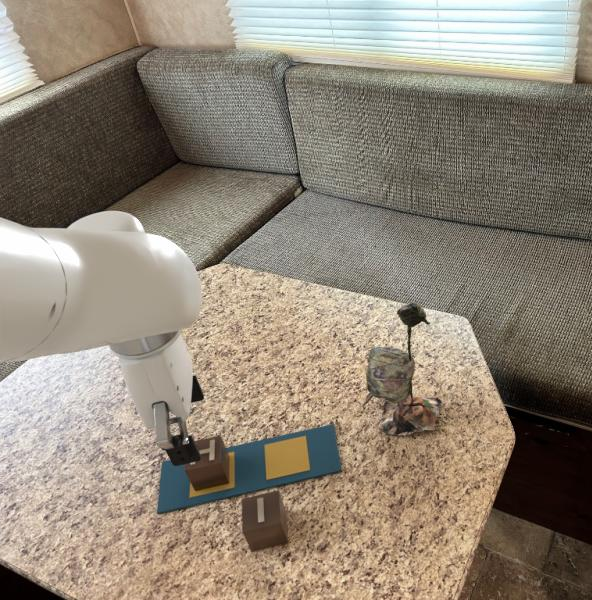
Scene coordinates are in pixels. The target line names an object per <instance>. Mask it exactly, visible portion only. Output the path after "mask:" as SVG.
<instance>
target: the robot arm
mask: <svg viewBox="0 0 592 600" xmlns="http://www.w3.org/2000/svg"><path fill="white" fill-rule="evenodd" d="M195 266H196V265H194V263H193V262H192V259H191V258H190V257H189V256H188V254H187V253H186V251H184V250H183V249H182V247H180V246H179V245H177V244H176V243H175V242H173V241H172V240H170V239H168V238H166V237H164V236H162V235H158V234H154V233H149V232H146V231H145V228H144V226H143V224H142V223H141V222H140V220H139V219H138V218H136V216H134V215H133V214H131V213H128V212H127V211H122V210H121V211H120V210H105V211H100V212H95V213H92V214H89V215H87V216H84V217H81V218H79V219H78V220H75V222H72V223H70V225H69V226H68V227H67V228H66V227H65V228H63V227H62V228H61V227H31V226H27V225H23V224H21V223H19V222H16V221H12V220H10V219H6V218H3V217H2V216H1V217H0V364H1V363H11V362H12V363H13V362H21V361H22V362H23V361H28V360H33V359H38V358H42V357H49V356H55V355H68V354H73V353H79V352H82V351H89V350H93V349H97V348H102V347H107V346H108V347H109V350H110V351H111V353H112V354H113V355H114V356H116V357H117V358H118V362H119V366H120V369H121V374H122V376H123V379H124V383H125V385H126V388H127V391H128V393H129V395H130V398H131V400H132V402H133V405H134V407H135V409H136V411H137V413H138V416H139V418H140V420H141V422H142V424H143V426H144V427H145V428H146V429H147V430H152V429H154V435H155V444H156V446H157V447H159V449H160V450H161V451H165V453H166V455H167V456H168V458H169V459H168V460H170V461H171V463H172V464H173V465H174V466H179V465H184V464H188V463H193V462H197V461H200V460H201V454H200V452H199V450H198V448H197V446H196V443H195V441H196V440H195V439H194V437H193V435H191V434H190V435H189V431H188V426H187V420H188V418H189V417H190V414H191V408H192V407H191V406H192V405H191V404H192V403H198V402H202V401H203V400H205V394H204V391H203V389H202V387H201V383H200V382H199V380H198V379H199V378H198V377H197V375H195V369H194V366H193V361H192V357H191V354H190V352H189V349H188V345H187V344H186V342H185V339H184V338H183V336H182V331H183V330H185V329H188V328H190V327H192V326H193V325H194V324H195V322H196V321H197V320H198V318H199V317H200V314H201V311H202V305H203V290H202V282H201V279H200V276H199V274H198V270H197V269H196V267H195ZM170 413H171V414H172V415H173V416H172V417H170ZM172 424H173V425H174V424H178V429H179V434H175V435H174V434H172V432H171V425H172Z"/></svg>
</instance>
